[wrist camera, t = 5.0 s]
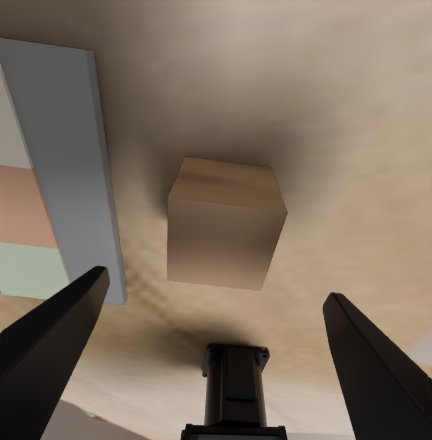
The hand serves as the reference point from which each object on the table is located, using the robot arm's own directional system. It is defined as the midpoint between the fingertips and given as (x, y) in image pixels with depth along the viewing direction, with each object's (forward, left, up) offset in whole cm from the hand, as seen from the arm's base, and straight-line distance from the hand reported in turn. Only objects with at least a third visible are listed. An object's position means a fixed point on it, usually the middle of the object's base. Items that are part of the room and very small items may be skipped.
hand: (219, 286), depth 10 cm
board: (-2, +14, -7) cm, 16 cm away
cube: (0, 0, -7) cm, 7 cm away
